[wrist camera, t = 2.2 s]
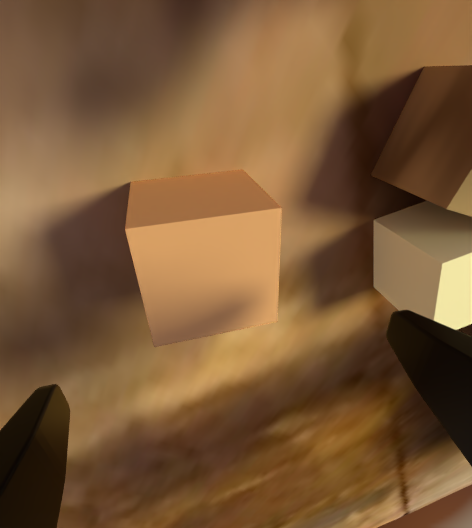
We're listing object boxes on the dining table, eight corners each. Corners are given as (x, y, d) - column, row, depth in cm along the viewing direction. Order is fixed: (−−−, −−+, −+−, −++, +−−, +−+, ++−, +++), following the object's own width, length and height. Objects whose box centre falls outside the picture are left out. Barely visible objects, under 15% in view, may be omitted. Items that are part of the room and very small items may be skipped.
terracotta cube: (245, 261, 17) (277, 321, 13) (151, 277, 16) (154, 347, 12) (242, 169, 15) (281, 207, 10) (130, 181, 14) (125, 229, 9)
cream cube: (441, 260, 21) (514, 307, 17) (372, 286, 21) (430, 339, 16) (451, 191, 18) (542, 225, 14) (372, 219, 18) (442, 263, 14)
